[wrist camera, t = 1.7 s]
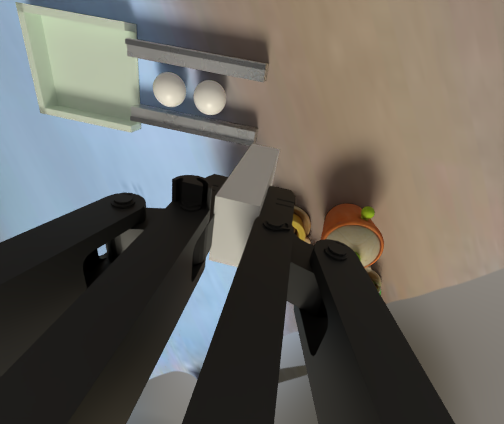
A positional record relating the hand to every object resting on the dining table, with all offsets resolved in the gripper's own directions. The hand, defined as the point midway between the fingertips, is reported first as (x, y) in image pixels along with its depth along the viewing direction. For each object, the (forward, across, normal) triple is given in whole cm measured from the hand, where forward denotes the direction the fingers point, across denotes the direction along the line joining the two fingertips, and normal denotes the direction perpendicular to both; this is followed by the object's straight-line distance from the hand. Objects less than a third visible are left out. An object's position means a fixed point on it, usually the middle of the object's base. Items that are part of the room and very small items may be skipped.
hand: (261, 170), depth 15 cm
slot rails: (+21, -11, 0) cm, 24 cm away
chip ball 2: (+21, -9, 0) cm, 23 cm away
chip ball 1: (+21, -14, 0) cm, 25 cm away
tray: (+21, -26, 0) cm, 33 cm away
